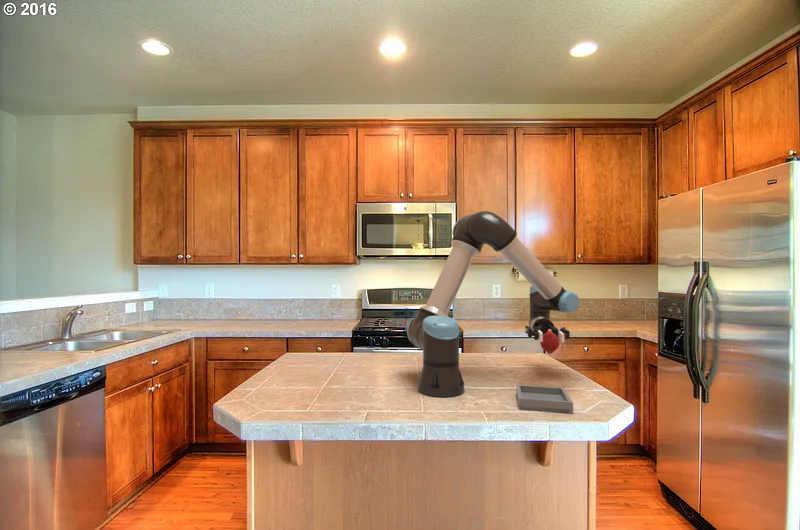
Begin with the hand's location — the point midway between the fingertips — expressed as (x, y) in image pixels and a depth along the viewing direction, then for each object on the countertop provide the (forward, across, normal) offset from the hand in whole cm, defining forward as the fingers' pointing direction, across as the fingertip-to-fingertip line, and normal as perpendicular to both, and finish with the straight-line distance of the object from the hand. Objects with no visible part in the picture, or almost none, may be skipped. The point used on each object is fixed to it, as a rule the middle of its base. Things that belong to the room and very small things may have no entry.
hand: (552, 337), depth 119 cm
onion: (-5, 0, -6) cm, 8 cm away
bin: (+8, +4, -18) cm, 20 cm away
